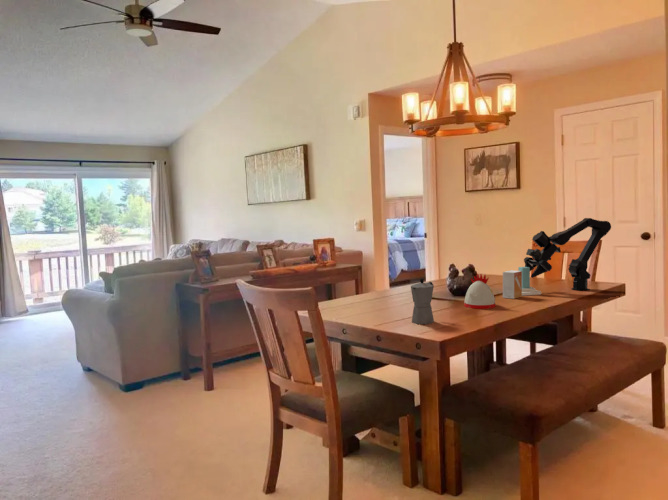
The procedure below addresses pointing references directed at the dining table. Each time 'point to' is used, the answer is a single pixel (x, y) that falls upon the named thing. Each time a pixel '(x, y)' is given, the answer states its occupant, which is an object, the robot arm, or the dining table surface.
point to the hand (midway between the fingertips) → (526, 275)
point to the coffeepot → (422, 302)
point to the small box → (512, 284)
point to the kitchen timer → (479, 294)
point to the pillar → (525, 277)
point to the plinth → (530, 291)
